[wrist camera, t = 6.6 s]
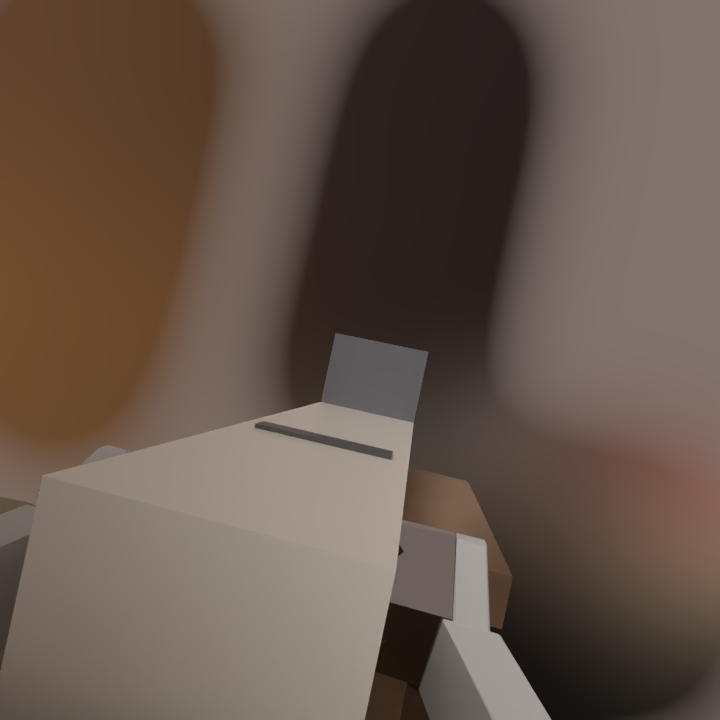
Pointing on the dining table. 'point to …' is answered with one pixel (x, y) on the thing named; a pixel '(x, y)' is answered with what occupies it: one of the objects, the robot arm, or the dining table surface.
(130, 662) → the domino bar
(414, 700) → the dining table surface
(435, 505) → the stand
